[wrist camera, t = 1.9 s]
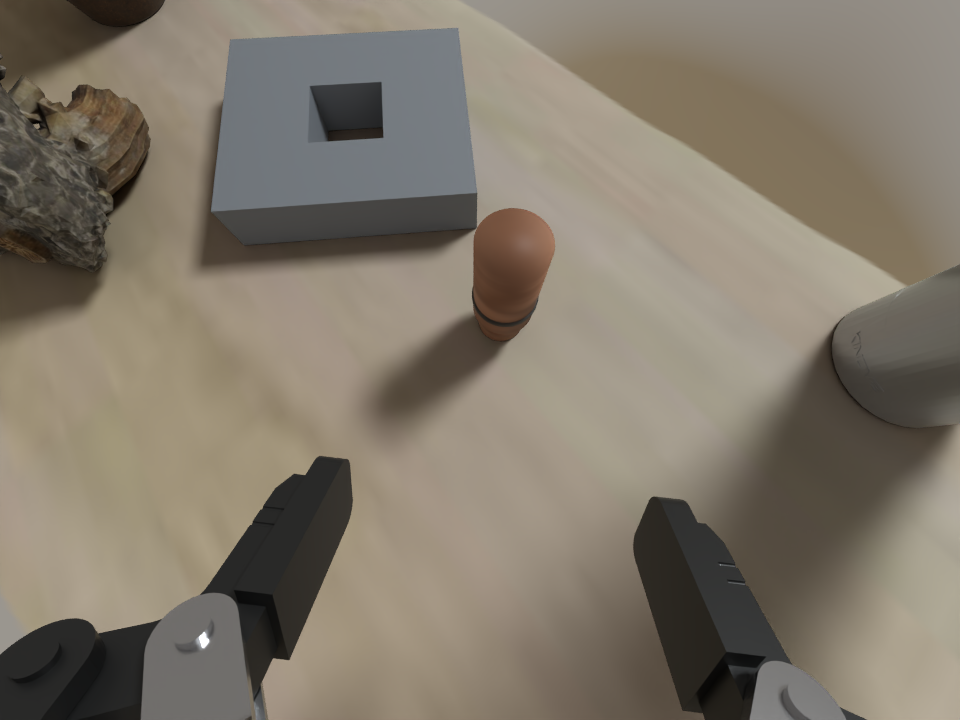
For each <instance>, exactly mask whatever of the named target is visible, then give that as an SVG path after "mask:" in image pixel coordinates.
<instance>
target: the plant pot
mask: <svg viewBox="0 0 960 720" xmlns="http://www.w3.org/2000/svg"><path fill="white" fill-rule="evenodd" d="M67 1H69V2H70V3H71V4H73V5H74V6H75V7H77V8H78V9H79V10H81V11H82V12H84V13H85V14H86V15H88V16H89V17H91V18H92V19H93V20H95V21H97V22H99V23H101V24H105V25H109V26H127V25H131V24H135V23H138V22H141V21H143V20H145V19H147V18H149V17H150V16H152V15H153V14H154V13H155V12H156V11H158V10H159V8H160V7H161V6H162V4H163V2H164V0H67Z"/></svg>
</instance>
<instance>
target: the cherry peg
mask: <svg viewBox="0 0 960 720" xmlns="http://www.w3.org/2000/svg"><path fill="white" fill-rule="evenodd" d="M554 251H555V240H554V236H553V233H552V231H551V229H550V227H549V226H548V224H547V223H546V222H545V221H544V220H543V219H542V218H540V217H539V216H538V215H536V214H534V213H532V212H530V211H527V210H523V209H516V208H509V209H503V210H499V211H496V212H494V213H492V214H490V215H489V216H487V217H486V218H485V219H484V220H483V221H482V222H481V223H480V224H479V226H478V228H477V230H476V232H475V235H474V279H473V289H472V300H473V308H474V314H475V316H476V318H477V320H478V322H479V325H480V328H481V330H482V332H483V333H484V334H485V335H486V336H487V337H489V338H490V339H493V340H496V341H506V340H509V339H512V338H513V337H515V336H516V335H517V334H518V333H519V331H520V329H522V328H523V327H524V326H525V325H526V324H527V323H528V322H529V320H530V318H531V315H532V314H533V312H534V310H535V308H536V305H537V302H538V297H539V293H540V290H541V288H542V285H543V282H544V279H545V277H546V274H547V271H548V268H549V266H550V263H551V260H552V257H553V255H554Z"/></svg>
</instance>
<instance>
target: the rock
mask: <svg viewBox="0 0 960 720" xmlns="http://www.w3.org/2000/svg"><path fill="white" fill-rule="evenodd" d="M2 58H3V56H2V55H1V53H0V59H2ZM5 73H6V68H5V67H3V66H2V65H0V80H2V79H3V78H4V77H5ZM38 123H39V125H40V128H39V129H36V128H35V127H34V125H33V124H38ZM148 130H149V127H148V125H147V123H146V121H145V118H144V116H143V114H142V112H141V111H140V109H139V108H138V106H137V105H136V104H133V103H131V102H130V101H129V100H128V99H127V98H119V97H118V96H117V95H115V94H114V93H113V92H112V91H111V90H110V89H104V90H100V89H95V88H93V87H91V86H90V85H79V86H78V87H77V88H76V90H75V91H73V92H72V101H71V102H70V103H69V105H68V106H67V107H64V106H63V105H62V103H61V102H58V103H52V102H51V101H49V100H48V99H47V98H45V95H44V93H43V92H42V91H41V90H40V88H39V87H38V86H37V85H35V84H34V83H33V82H32V81H31V80H30V79H28V78H27V77H25V76H21V77H20V78H19V80H18V81H17V82H16V84H15V85H14V86H13V88H12V89H11V90H10V91H9V92H8V93H7V92H6V90H5V89H4V88H2V85H1V83H0V254H2V253H5V252H7V251H11V252H13V253H16V254H18V255H21V256H23V257H25V258H26V259H28V260H29V261H31V262H32V263H47V262H48V261H49V260H50V259H52V258H53V259H55V260H57V261H58V262H60V263H62V264H63V265H74V266H79V267H82V268H85V269H87V270H88V271H90V272H91V273H92V272H94V271H96V270H97V269H98V268H100V267H101V266H102V262H106V259H107V253H106V251H105V249H104V246H105V240H104V237H103V235H104V233H105V230H106V228H107V226H108V225H110V224H111V223H110V222H108V221H109V220H108V219H107V217H106V214H107V213H109V212H111V211H113V198H112V195H113V194H114V193H115V192H116V191H117V190H119V189H120V188H121V187H122V186H123V185H124V184H125V183H126V182H128V181H129V180H130V179H131V178H132V177H134V176H135V175H136V173H137V171H138V169H139V167H140V165H141V163H142V162H143V160H144V158H145V156H146V153H147V151H148V149H149V147H150V140H151V139H150V137H149V135H148Z"/></svg>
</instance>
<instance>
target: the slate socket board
mask: <svg viewBox="0 0 960 720" xmlns="http://www.w3.org/2000/svg"><path fill="white" fill-rule="evenodd" d="M378 127H383V137H384V138H375V139H360V140H344V141H328V131H330V130H346V129H362V128H378ZM211 212H212V213H213V214H214V215H215V216H216V217H217V218H218V219H219V220H220V221H221V222H222V223H223V224H224V225H225V226H226V227H227V228H228V229H229V231H230V232H231V233H232V234H233V235H234V236H235V237H236V238H237V239H238V240H239V241H240V242H241V243H242V244H243V245H255V244H268V243H281V242H295V241H308V240H322V239H335V238H349V237H362V236H375V235H389V234H402V233H416V232H429V231H442V230H456V229H469V228H477V188H476V179H475V170H474V162H473V153H472V144H471V136H470V127H469V118H468V110H467V101H466V92H465V84H464V75H463V66H462V58H461V49H460V40H459V32H458V28H447V29H427V30H408V31H388V32H369V33H349V34H330V35H310V36H291V37H271V38H252V39H232V40H230V46H229V55H228V64H227V73H226V82H225V91H224V99H223V108H222V117H221V126H220V135H219V144H218V153H217V162H216V171H215V179H214V188H213V197H212V206H211Z"/></svg>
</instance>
